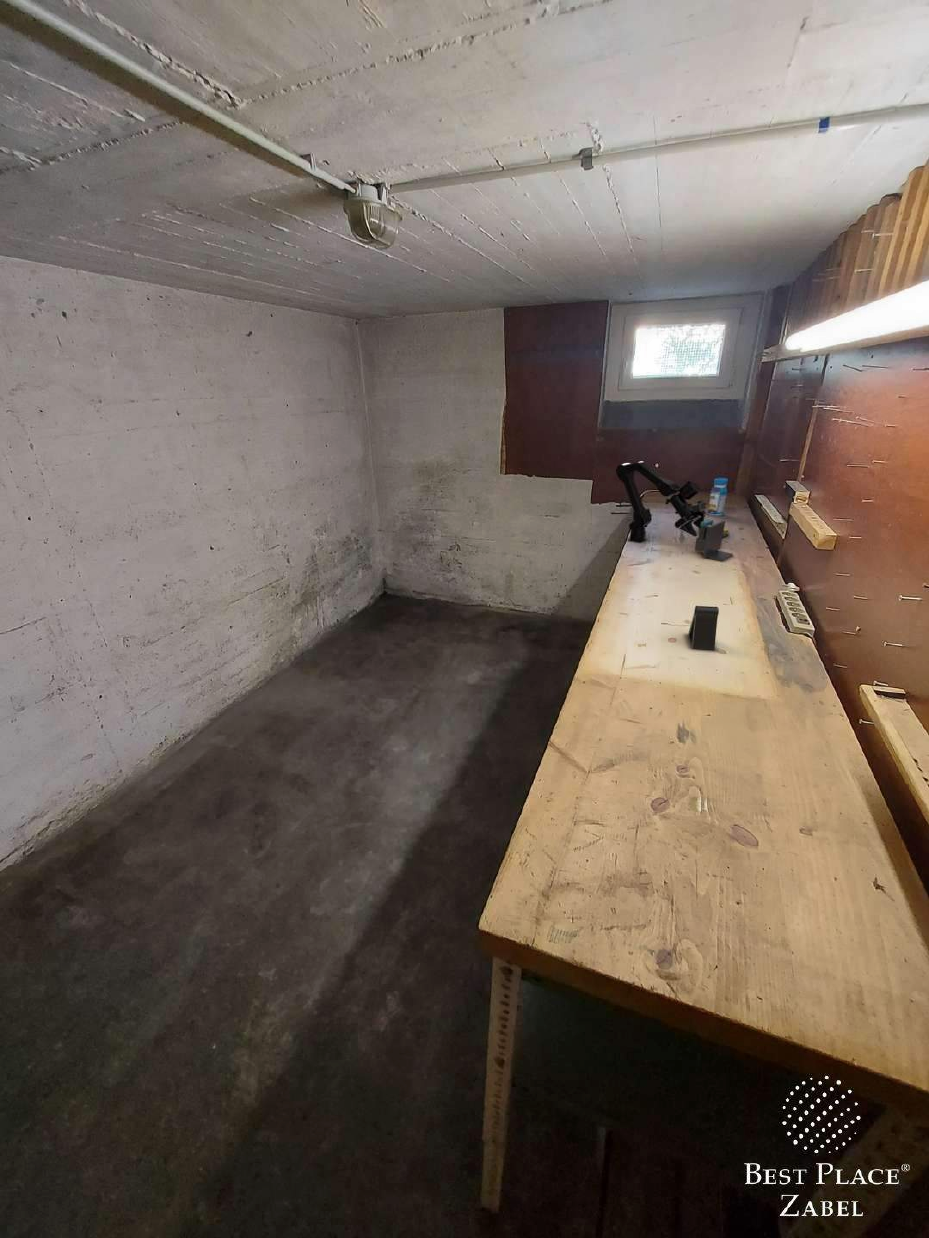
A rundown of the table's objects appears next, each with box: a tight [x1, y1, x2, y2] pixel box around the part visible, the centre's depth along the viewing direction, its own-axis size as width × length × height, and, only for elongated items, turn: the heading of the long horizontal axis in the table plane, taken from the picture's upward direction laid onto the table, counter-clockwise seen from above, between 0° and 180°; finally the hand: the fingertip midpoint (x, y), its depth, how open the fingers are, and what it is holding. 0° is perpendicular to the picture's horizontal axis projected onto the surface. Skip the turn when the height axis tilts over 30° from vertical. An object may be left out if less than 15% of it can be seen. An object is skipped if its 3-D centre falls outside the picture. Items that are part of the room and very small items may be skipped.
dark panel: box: [702, 520, 734, 562], centre depth 214 cm, size 13×14×14 cm
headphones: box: [694, 519, 714, 553], centre depth 217 cm, size 4×7×13 cm, turn 131°
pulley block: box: [697, 522, 730, 538], centre depth 241 cm, size 14×6×30 cm
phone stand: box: [687, 605, 720, 651], centre depth 145 cm, size 9×6×12 cm, turn 165°
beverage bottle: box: [707, 477, 729, 517], centre depth 276 cm, size 8×8×20 cm
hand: (701, 533), depth 218 cm, fingers open, 9 cm apart
